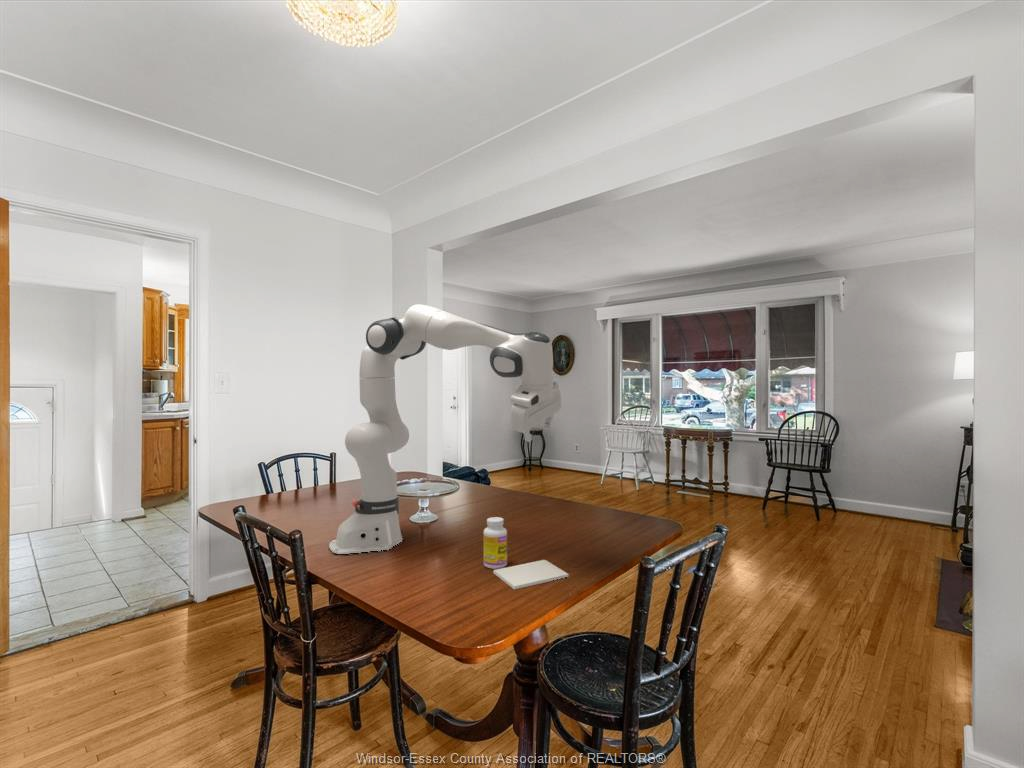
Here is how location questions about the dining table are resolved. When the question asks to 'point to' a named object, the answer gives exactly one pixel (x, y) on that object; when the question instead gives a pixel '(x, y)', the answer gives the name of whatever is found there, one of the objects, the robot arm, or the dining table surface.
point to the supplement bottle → (495, 543)
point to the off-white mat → (530, 574)
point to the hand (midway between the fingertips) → (538, 434)
